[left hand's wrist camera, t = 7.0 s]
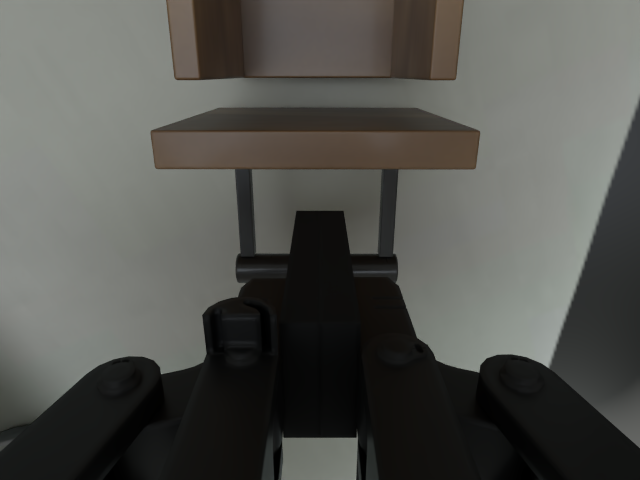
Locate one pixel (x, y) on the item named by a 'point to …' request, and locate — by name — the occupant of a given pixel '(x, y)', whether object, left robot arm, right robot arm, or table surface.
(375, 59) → the drawer
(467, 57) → the table surface
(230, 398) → the left robot arm
